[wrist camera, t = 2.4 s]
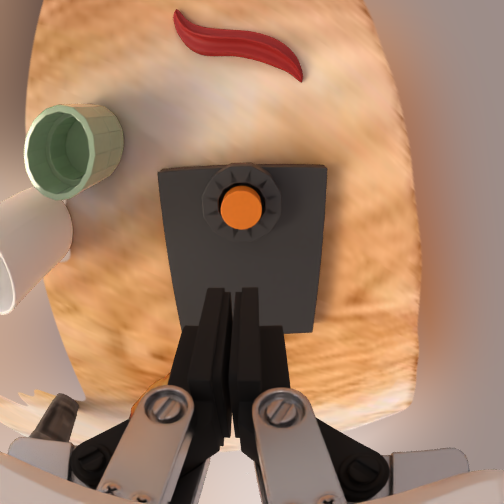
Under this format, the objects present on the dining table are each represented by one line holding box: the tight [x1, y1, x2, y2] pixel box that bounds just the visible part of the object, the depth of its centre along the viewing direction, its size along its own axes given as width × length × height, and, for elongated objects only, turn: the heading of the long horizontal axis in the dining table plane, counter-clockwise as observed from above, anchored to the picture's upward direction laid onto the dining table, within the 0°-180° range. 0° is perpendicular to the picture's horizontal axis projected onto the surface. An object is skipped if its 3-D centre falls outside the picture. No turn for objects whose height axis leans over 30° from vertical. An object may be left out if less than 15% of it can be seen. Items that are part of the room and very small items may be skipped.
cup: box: [0, 187, 73, 315], centre depth 20 cm, size 8×12×10 cm
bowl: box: [24, 104, 124, 201], centre depth 19 cm, size 7×7×6 cm
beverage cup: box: [29, 393, 79, 442], centre depth 29 cm, size 7×7×20 cm
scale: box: [158, 163, 327, 334], centre depth 25 cm, size 16×13×3 cm
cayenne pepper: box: [173, 9, 303, 82], centre depth 17 cm, size 12×5×2 cm, turn 50°
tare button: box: [221, 186, 262, 230], centre depth 21 cm, size 3×3×2 cm
